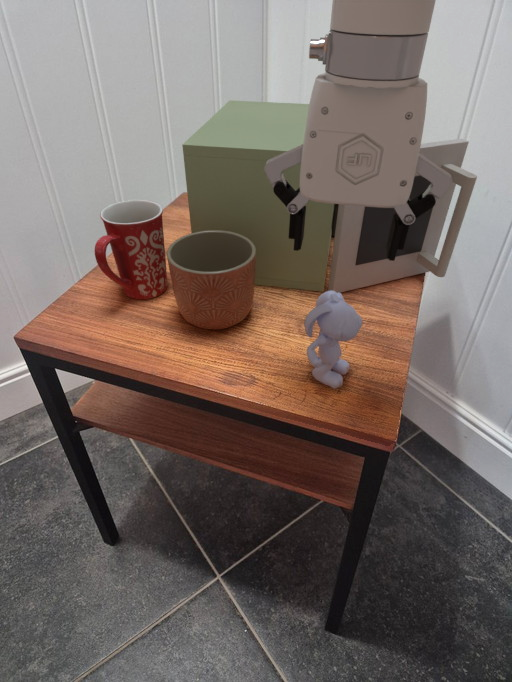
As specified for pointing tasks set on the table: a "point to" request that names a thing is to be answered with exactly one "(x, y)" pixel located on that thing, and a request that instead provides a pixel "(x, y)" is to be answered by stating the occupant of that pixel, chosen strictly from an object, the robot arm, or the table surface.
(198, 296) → the planter
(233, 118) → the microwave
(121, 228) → the mug
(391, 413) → the table surface
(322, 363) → the toy figurine
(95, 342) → the table surface
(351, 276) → the microwave door
